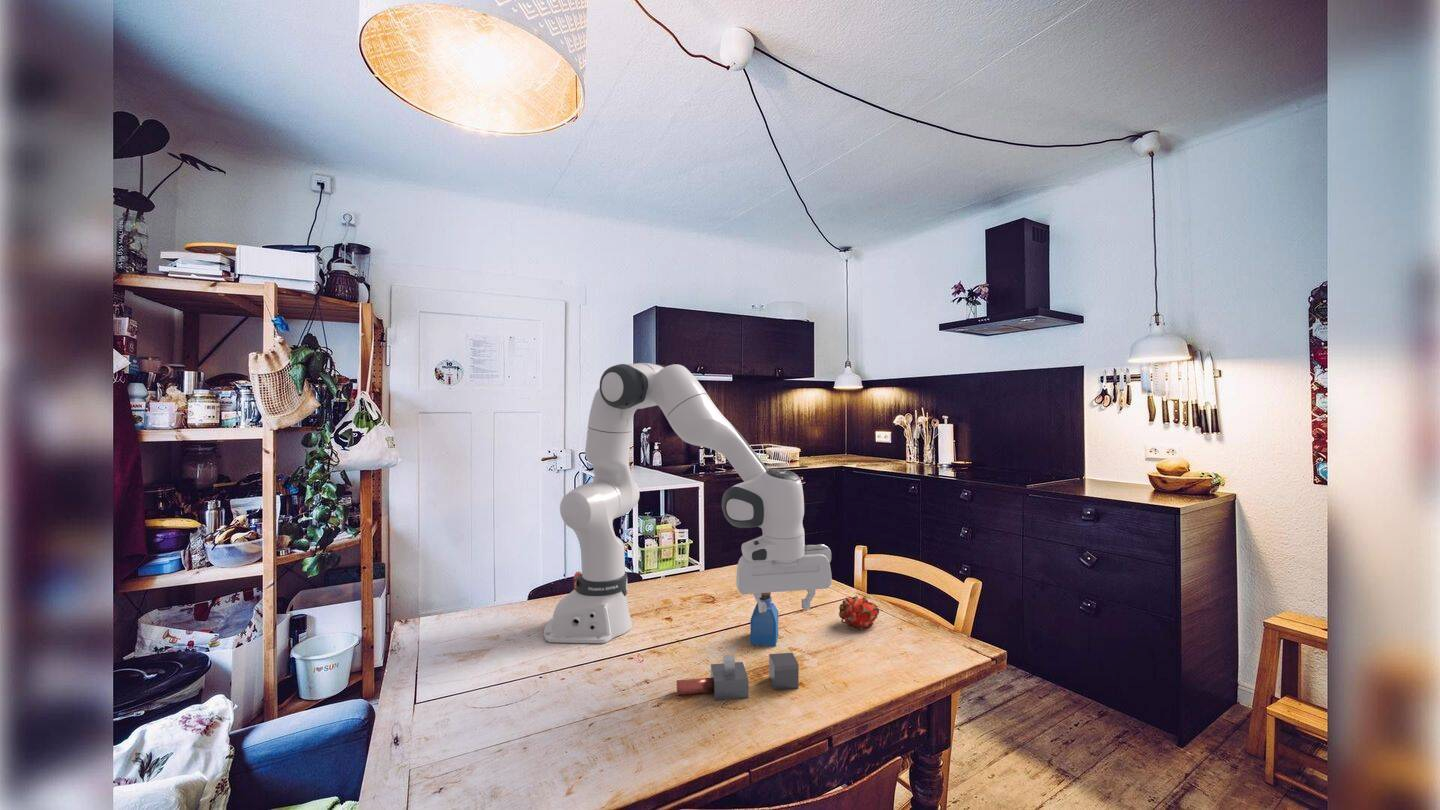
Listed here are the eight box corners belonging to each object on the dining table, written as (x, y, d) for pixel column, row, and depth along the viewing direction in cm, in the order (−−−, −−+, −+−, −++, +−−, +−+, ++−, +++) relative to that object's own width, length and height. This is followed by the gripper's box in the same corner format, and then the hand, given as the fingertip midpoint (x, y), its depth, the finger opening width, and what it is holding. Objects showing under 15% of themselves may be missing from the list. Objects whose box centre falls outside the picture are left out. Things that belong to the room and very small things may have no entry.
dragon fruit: (834, 633, 152) (874, 633, 155) (849, 626, 145) (891, 626, 149) (828, 600, 157) (868, 601, 160) (843, 591, 150) (884, 592, 153)
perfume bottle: (775, 646, 142) (775, 598, 141) (750, 644, 144) (750, 596, 143) (778, 634, 148) (778, 588, 147) (754, 632, 150) (753, 587, 149)
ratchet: (677, 703, 119) (677, 670, 118) (676, 684, 126) (675, 653, 125) (748, 697, 121) (748, 664, 120) (742, 679, 128) (742, 648, 127)
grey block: (774, 690, 123) (774, 666, 123) (769, 677, 128) (769, 654, 128) (798, 688, 124) (798, 664, 124) (792, 675, 129) (792, 652, 129)
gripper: (826, 539, 128) (827, 600, 129) (734, 544, 126) (735, 607, 127) (835, 548, 122) (836, 612, 123) (739, 554, 120) (740, 620, 120)
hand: (784, 610), depth 125 cm, fingers open, 8 cm apart
